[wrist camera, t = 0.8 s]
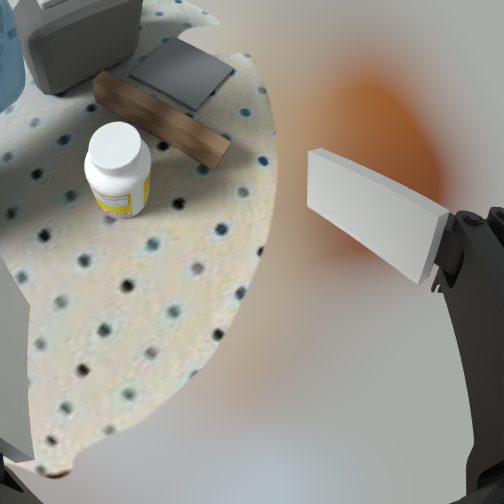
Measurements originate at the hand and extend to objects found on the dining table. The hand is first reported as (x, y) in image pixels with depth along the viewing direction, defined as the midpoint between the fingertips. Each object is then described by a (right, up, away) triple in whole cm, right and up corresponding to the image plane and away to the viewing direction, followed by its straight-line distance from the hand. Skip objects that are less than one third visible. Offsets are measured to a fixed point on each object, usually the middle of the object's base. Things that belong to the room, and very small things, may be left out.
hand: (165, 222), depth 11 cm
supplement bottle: (-13, +6, +24) cm, 28 cm away
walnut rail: (-10, +15, +26) cm, 32 cm away
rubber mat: (-7, +26, +29) cm, 40 cm away
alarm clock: (-23, +28, +24) cm, 43 cm away
